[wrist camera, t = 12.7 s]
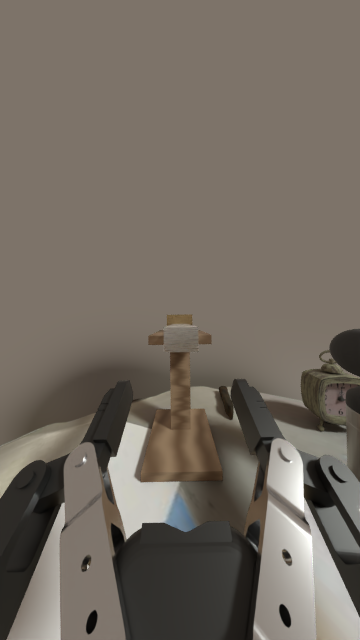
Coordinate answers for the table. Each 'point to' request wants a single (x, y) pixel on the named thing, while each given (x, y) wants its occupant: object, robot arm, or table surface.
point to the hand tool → (226, 401)
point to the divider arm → (180, 334)
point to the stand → (180, 430)
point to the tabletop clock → (327, 392)
